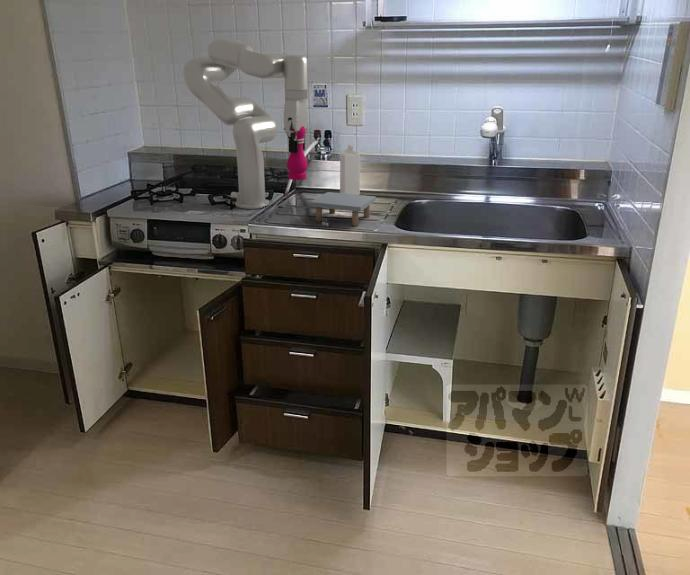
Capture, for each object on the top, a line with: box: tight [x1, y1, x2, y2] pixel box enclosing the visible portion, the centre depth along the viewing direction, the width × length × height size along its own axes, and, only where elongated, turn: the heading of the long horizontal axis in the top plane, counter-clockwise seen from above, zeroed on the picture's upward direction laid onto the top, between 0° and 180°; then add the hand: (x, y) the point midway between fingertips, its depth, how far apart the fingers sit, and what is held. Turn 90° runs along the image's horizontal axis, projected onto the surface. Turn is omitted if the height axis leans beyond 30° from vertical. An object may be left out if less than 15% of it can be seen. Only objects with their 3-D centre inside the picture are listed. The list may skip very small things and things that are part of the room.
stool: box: [309, 191, 377, 227], centre depth 206 cm, size 18×16×7 cm
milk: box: [339, 143, 361, 195], centre depth 222 cm, size 6×6×22 cm
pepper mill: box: [286, 126, 309, 181], centre depth 205 cm, size 7×7×20 cm
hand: (296, 150), depth 205 cm, fingers closed on pepper mill, 5 cm apart
